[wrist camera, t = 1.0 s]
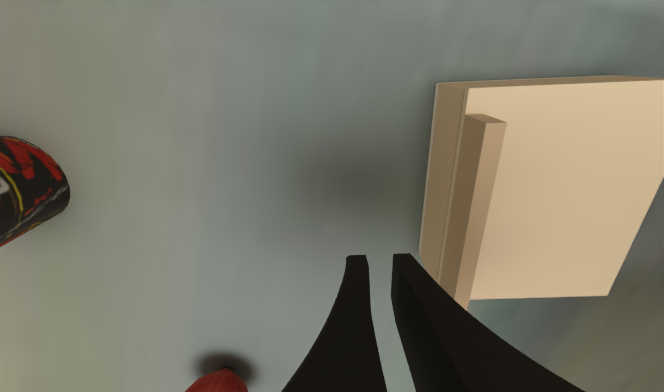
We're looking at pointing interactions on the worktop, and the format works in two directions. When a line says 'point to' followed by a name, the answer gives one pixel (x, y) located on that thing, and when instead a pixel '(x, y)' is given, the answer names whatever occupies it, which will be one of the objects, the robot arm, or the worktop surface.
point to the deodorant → (28, 188)
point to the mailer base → (445, 149)
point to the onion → (219, 382)
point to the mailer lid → (550, 187)
